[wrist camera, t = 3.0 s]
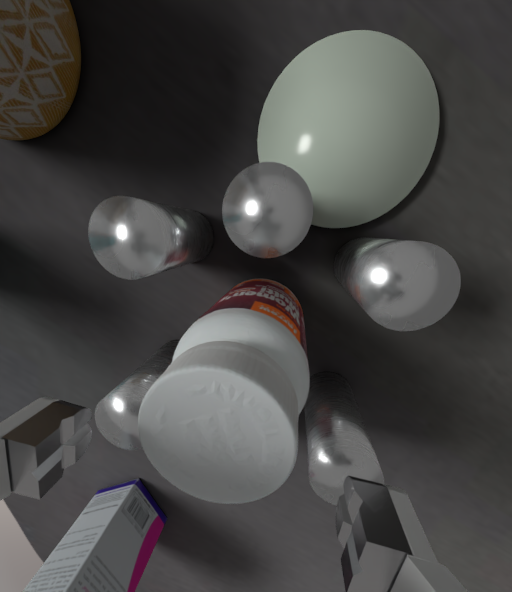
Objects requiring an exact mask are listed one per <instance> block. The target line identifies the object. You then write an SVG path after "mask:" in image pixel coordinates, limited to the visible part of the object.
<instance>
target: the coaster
mask: <svg viewBox="0 0 512 592" xmlns="http://www.w3.org/2000/svg"><path fill="white" fill-rule="evenodd" d="M438 130H439V102H438V95H437V91H436V88H435V84H434V81H433V79H432V77H431V75H430V72H429V70H428V69H427V67H426V66H425V64H424V62H423V61H422V59H421V58H420V57H419V56H418V55H417V54H416V53H415V52H414V51H413V50H412V49H411V48H410V47H408V46H407V45H406V44H405V43H403V42H402V41H400V40H398V39H396V38H394V37H392V36H390V35H387V34H384V33H380V32H375V31H369V30H353V31H347V32H341V33H338V34H334V35H331V36H328V37H326V38H324V39H322V40H320V41H318V42H316V43H314V44H313V45H311V46H309V47H308V48H306V49H305V50H304V51H302V52H301V53H300V54H299V55H298V56H296V57H295V58H294V59H293V60H292V61H291V62H290V63H289V64H288V66H287V67H286V68H285V69H284V70H283V72H282V73H281V74H280V76H279V77H278V78H277V80H276V81H275V83H274V85H273V87H272V88H271V90H270V92H269V94H268V97H267V99H266V101H265V104H264V107H263V110H262V113H261V117H260V122H259V127H258V139H257V143H258V157H259V163H261V162H276V163H281V164H284V165H286V166H288V167H290V168H292V169H293V170H295V171H296V172H297V173H298V174H299V175H300V176H301V177H302V178H303V179H304V181H305V182H306V184H307V186H308V187H309V190H310V192H311V196H312V200H313V218H312V222H311V225H314V226H319V227H324V228H346V227H351V226H357V225H360V224H363V223H366V222H369V221H371V220H373V219H376V218H378V217H380V216H381V215H383V214H385V213H386V212H388V211H389V210H391V209H392V208H393V207H395V206H396V205H397V204H399V203H400V202H401V201H402V200H403V199H404V198H405V197H406V196H407V195H408V194H409V193H410V191H411V190H412V189H413V188H414V187H415V185H416V184H417V183H418V181H419V180H420V178H421V177H422V175H423V174H424V172H425V170H426V168H427V166H428V164H429V162H430V159H431V157H432V154H433V151H434V149H435V145H436V141H437V137H438Z"/></svg>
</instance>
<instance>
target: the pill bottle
mask: <svg viewBox="0 0 512 592" xmlns="http://www.w3.org/2000/svg"><path fill="white" fill-rule="evenodd" d="M309 375H310V371H309V363H308V356H307V346H306V336H305V326H304V317H303V311H302V308H301V305H300V303H299V301H298V299H297V298H296V296H295V295H294V294H293V293H292V292H291V291H290V290H289V289H288V288H287V287H285V286H284V285H282V284H281V283H278V282H276V281H273V280H270V279H261V278H259V279H251V280H247V281H244V282H242V283H240V284H238V285H237V286H235V287H234V288H233V289H231V290H230V291H229V292H228V293H227V294H226V295H224V296H223V297H222V298H221V299H220V300H219V301H218V302H217V303H216V304H215V305H214V306H213V307H211V308H210V309H209V310H208V311H207V312H205V313H204V314H203V315H202V316H200V318H199V319H197V320H196V321H195V322H194V323H193V324H192V325H191V326H190V327H189V329H188V330H187V331H186V332H185V334H184V335H183V336H182V338H181V339H180V341H179V343H178V345H177V347H176V350H175V352H174V356H173V359H172V363H171V364H170V365H169V366H168V368H167V369H166V371H165V372H164V373H163V374H162V375H161V376H160V377H159V378H158V379H157V380H156V381H155V383H154V384H153V385H152V386H151V387H150V389H149V390H148V392H147V393H146V395H145V397H144V398H143V401H142V403H141V406H140V410H139V415H138V432H139V438H140V442H141V445H142V447H143V450H144V451H145V453H146V455H147V457H148V459H149V460H150V462H151V463H152V465H153V466H154V467H155V468H156V470H157V471H158V472H159V473H160V474H161V475H162V476H163V477H164V478H165V479H166V480H168V481H169V482H170V483H171V484H173V485H174V486H176V487H177V488H179V489H180V490H182V491H184V492H186V493H188V494H190V495H192V496H194V497H197V498H199V499H202V500H206V501H210V502H215V503H223V504H239V503H247V502H252V501H255V500H258V499H261V498H263V497H265V496H267V495H269V494H271V493H272V492H274V491H275V490H277V489H278V488H279V487H280V486H281V485H282V484H283V483H284V482H285V481H286V480H287V478H288V477H289V475H290V473H291V472H292V469H293V467H294V465H295V462H296V458H297V453H298V416H299V414H300V413H301V411H302V409H303V407H304V405H305V403H306V400H307V397H308V393H309V383H310V377H309Z"/></svg>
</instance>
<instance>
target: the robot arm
mask: <svg viewBox="0 0 512 592" xmlns="http://www.w3.org/2000/svg"><path fill="white" fill-rule="evenodd" d="M91 419H92V416H91V409H88V408H86V407H83V406H79V405H76V404H72V403H69V402H66V401H62V400H58V399H54V398H51V397H47V396H46V397H42V398H39V399H37V400H36V401H34V402H33V403H31V404H29V405H28V406H26V407H25V408H23V409H21V410H20V411H18V412H17V413H15V414H13V415H12V416H10V417H9V418H7V419H6V420H4V421H2V422H1V423H0V500H2V499H4V498H6V497H7V496H9V495H11V492H13V493H17V494H20V495H24V496H28V497H32V498H35V499H39V500H40V499H41V498H42V497H43V496H44V495H45V494H46V493H47V492H48V491H49V490H50V489H51V488H52V487H53V486H54V485H55V484H56V483H57V482H58V480H59V479H60V478H61V477H62V475H63V471H64V468H66V467H68V466H70V465H72V464H74V463H76V462H77V461H78V460H79V459H80V457H81V456H82V455H83V454H84V453H85V451H86V449H87V448H88V446H89V444H90V441H91V437H92V429H91V428H90V426H89V425H88V422H89V421H90V420H91ZM343 488H344V494H343V495H341V496H339V499H338V502H337V506H336V530H337V538H338V540H339V541H340V543H341V545H342V546H343V548H344V551H343V554H342V557H341V564H342V571H343V577H344V584H345V590H346V592H468V591H467V590H466V589H465V588H464V586H463V585H462V584H461V583H460V582H459V581H458V580H457V578H456V577H455V576H454V575H453V574H452V573H451V572H450V571H449V569H448V568H447V567H446V566H445V565H442V564H439V563H438V561H437V559H436V557H435V555H434V553H433V550H432V548H431V546H430V544H429V542H428V539H427V537H426V535H425V533H424V531H423V528H422V526H421V524H420V522H419V519H418V517H417V515H416V513H415V511H414V508H413V506H412V504H411V502H410V500H409V497H408V495H407V493H406V492H405V491H404V490H403V489H400V488H397V487H393V486H389V485H385V484H384V485H383V484H381V483H377V482H373V481H369V480H365V479H361V478H357V477H353V476H349V475H348V476H347V477H346V478H345V480H344V483H343Z"/></svg>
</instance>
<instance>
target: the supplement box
mask: <svg viewBox="0 0 512 592" xmlns="http://www.w3.org/2000/svg"><path fill="white" fill-rule="evenodd" d="M166 520H167V517H166V516H165V514H164V513H163V512H162V510H161V509H160V508H159V506H158V505H157V503H156V502H155V501H154V499H153V498H152V496H151V495H150V494H149V492H148V491H147V489H146V488H145V486H144V485H143V483H142V482H141V481H140V479H139V478H138V479H134V480H131V481H128V482H124V483H121V484H118V485H114V486H110V487H107V488H104V489H101V490H99V491H98V492H97V493H96V494H95V496H94V497H93V498H92V500H91V501H90V502H89V504H88V505H87V506H86V508H85V509H84V510H83V512H82V513H81V514H80V516H79V517H78V519H77V520H76V521H75V523H74V524H73V525H72V527H71V528H70V529H69V531H68V532H67V533H66V535H65V536H64V537H63V539H62V540H61V541H60V542H59V544H58V545H57V546H56V548H55V549H54V550H53V552H52V553H51V554H50V556H49V557H48V558H47V560H46V561H45V563H44V564H43V565H42V566H41V568H40V569H39V571H38V572H37V573H36V574H35V576H34V577H33V578H32V580H31V581H30V582H29V584H28V585H27V586H26V588H25V589H24V590H23V592H135V590H136V587H137V585H138V583H139V581H140V578H141V576H142V574H143V572H144V569H145V567H146V565H147V563H148V560H149V558H150V556H151V554H152V551H153V549H154V547H155V545H156V543H157V540H158V538H159V536H160V534H161V531H162V529H163V527H164V525H165V523H166Z"/></svg>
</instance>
